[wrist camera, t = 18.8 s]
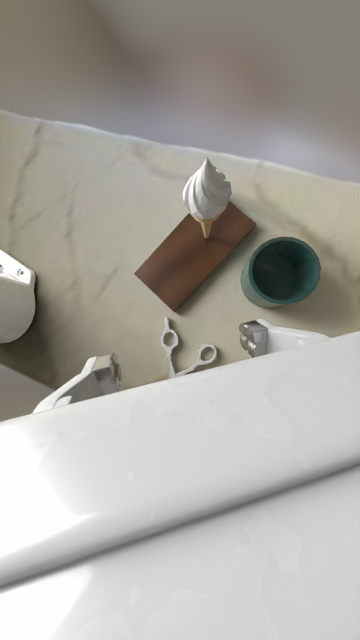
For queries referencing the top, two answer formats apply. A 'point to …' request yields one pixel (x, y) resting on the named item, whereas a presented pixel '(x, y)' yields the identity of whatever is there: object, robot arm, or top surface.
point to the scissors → (169, 349)
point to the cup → (280, 273)
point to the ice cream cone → (206, 195)
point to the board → (192, 255)
